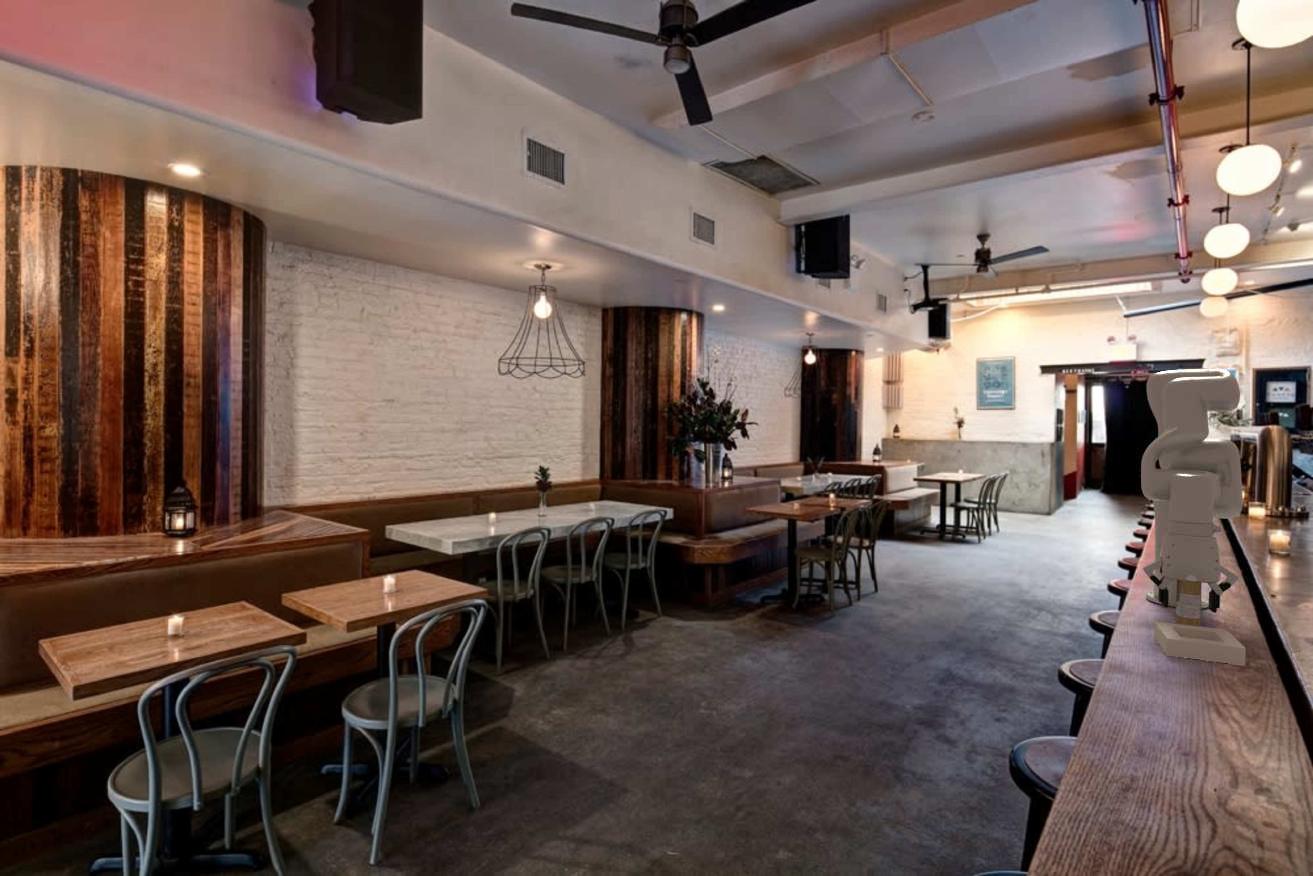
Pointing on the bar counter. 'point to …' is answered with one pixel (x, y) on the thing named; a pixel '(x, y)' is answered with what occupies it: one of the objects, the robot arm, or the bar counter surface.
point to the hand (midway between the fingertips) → (1188, 608)
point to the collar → (1199, 643)
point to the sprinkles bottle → (1188, 602)
